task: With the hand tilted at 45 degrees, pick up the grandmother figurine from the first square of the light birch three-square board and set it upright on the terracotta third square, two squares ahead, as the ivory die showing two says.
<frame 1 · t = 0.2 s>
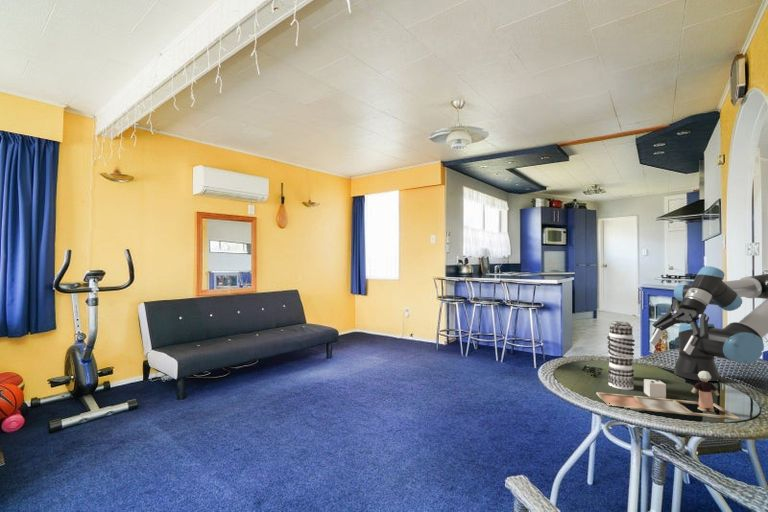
hand: (668, 348, 141), 16 cm above the table, tool tilted 35°, fingers open, 13 cm apart
decorative candle: (620, 386, 144), on the table
ivory die: (654, 395, 134), on the table
game board: (661, 405, 124), on the table
grandmother figurine: (704, 410, 121), resting on game board
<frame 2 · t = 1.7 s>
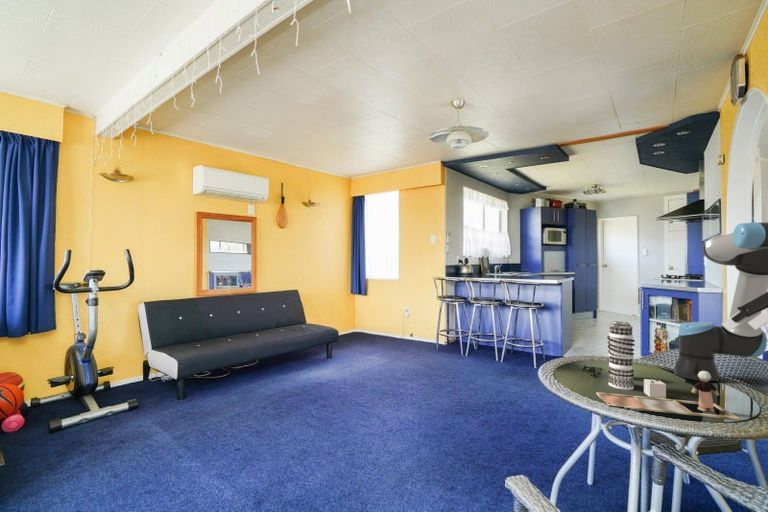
hand: (739, 326, 113), 29 cm above the table, tool tilted 45°, fingers open, 13 cm apart
nothing on the table moved.
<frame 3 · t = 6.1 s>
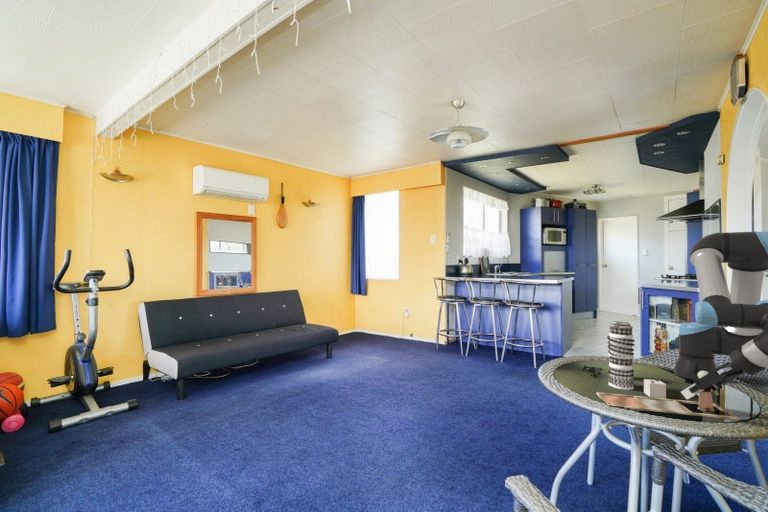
hand: (690, 394, 124), 4 cm above the table, tool tilted 45°, fingers closed on grandmother figurine, 6 cm apart
grandmother figurine: (704, 410, 121), resting on game board, touching gripper
everything else where it was.
when the fingers open (5 cm above the table, at t = 12.5 s): grandmother figurine stays where it is, resting on game board.
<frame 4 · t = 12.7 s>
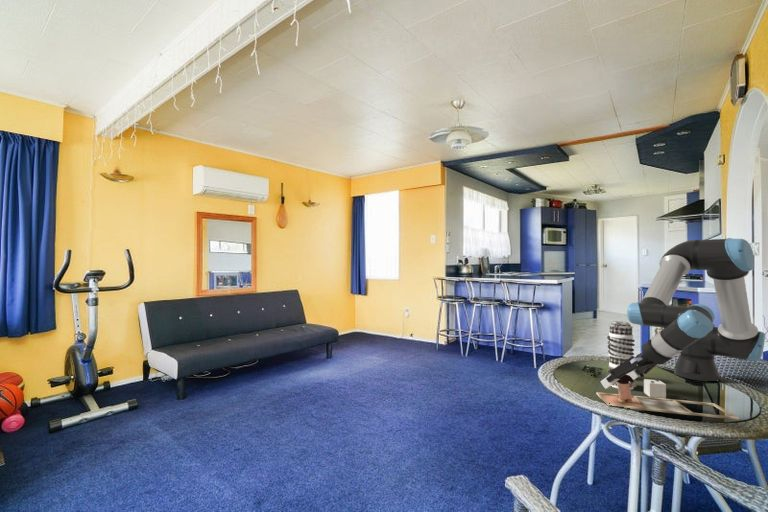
hand: (613, 383, 130), 5 cm above the table, tool tilted 45°, fingers open, 9 cm apart
grandmother figurine: (623, 401, 127), resting on game board
everything else where it was.
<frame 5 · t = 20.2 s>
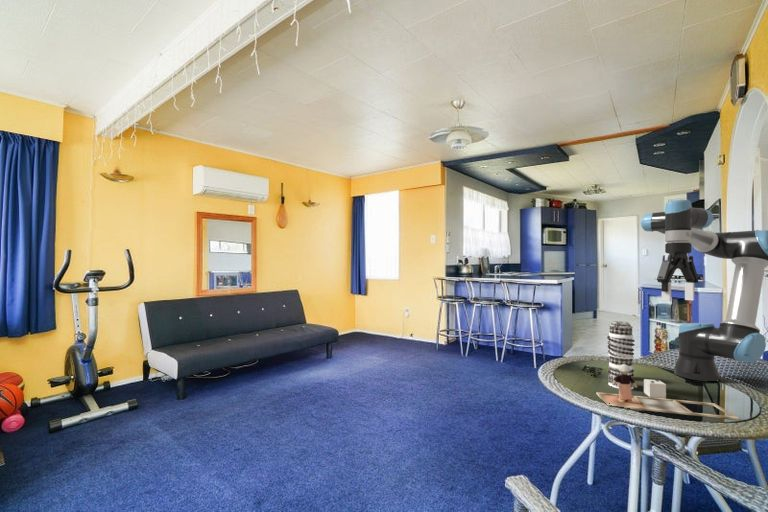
hand: (678, 300, 134), 35 cm above the table, tool pointing down, fingers open, 13 cm apart
nothing on the table moved.
at the end: grandmother figurine inside the target area on the game board (0.6 cm from its centre), point 0.0 cm above the game board's base; grandmother figurine tilted 0°; the gripper is holding nothing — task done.
